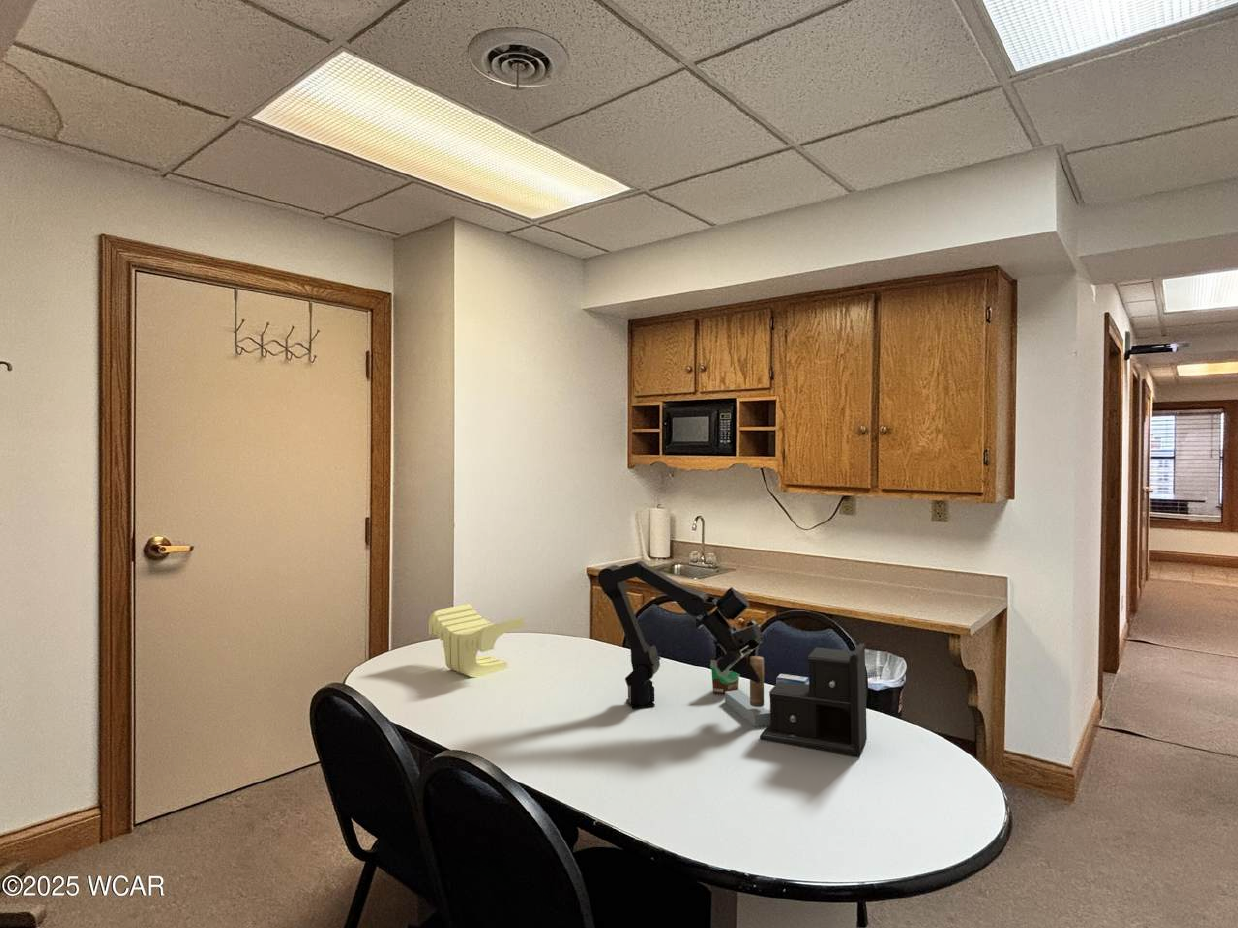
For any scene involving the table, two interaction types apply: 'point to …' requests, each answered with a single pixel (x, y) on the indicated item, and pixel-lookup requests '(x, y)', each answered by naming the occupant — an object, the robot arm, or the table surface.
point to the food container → (723, 679)
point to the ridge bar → (747, 708)
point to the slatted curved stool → (469, 639)
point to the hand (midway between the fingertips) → (762, 679)
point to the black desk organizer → (823, 704)
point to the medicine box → (792, 679)
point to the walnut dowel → (757, 688)
